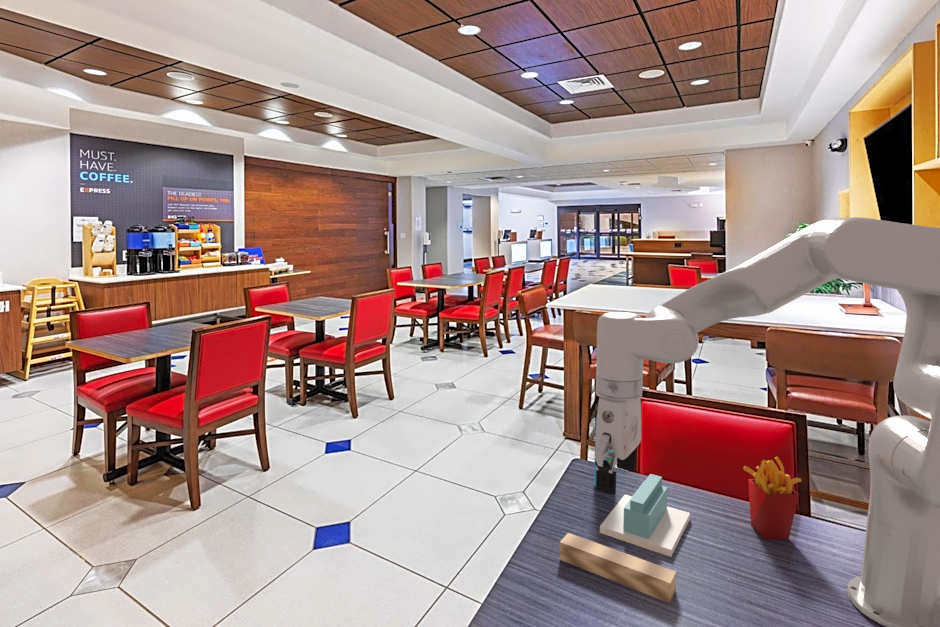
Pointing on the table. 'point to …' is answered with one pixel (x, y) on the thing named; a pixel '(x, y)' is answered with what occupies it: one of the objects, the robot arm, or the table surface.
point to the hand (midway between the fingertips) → (616, 480)
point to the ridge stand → (647, 519)
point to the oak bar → (619, 567)
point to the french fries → (772, 500)
